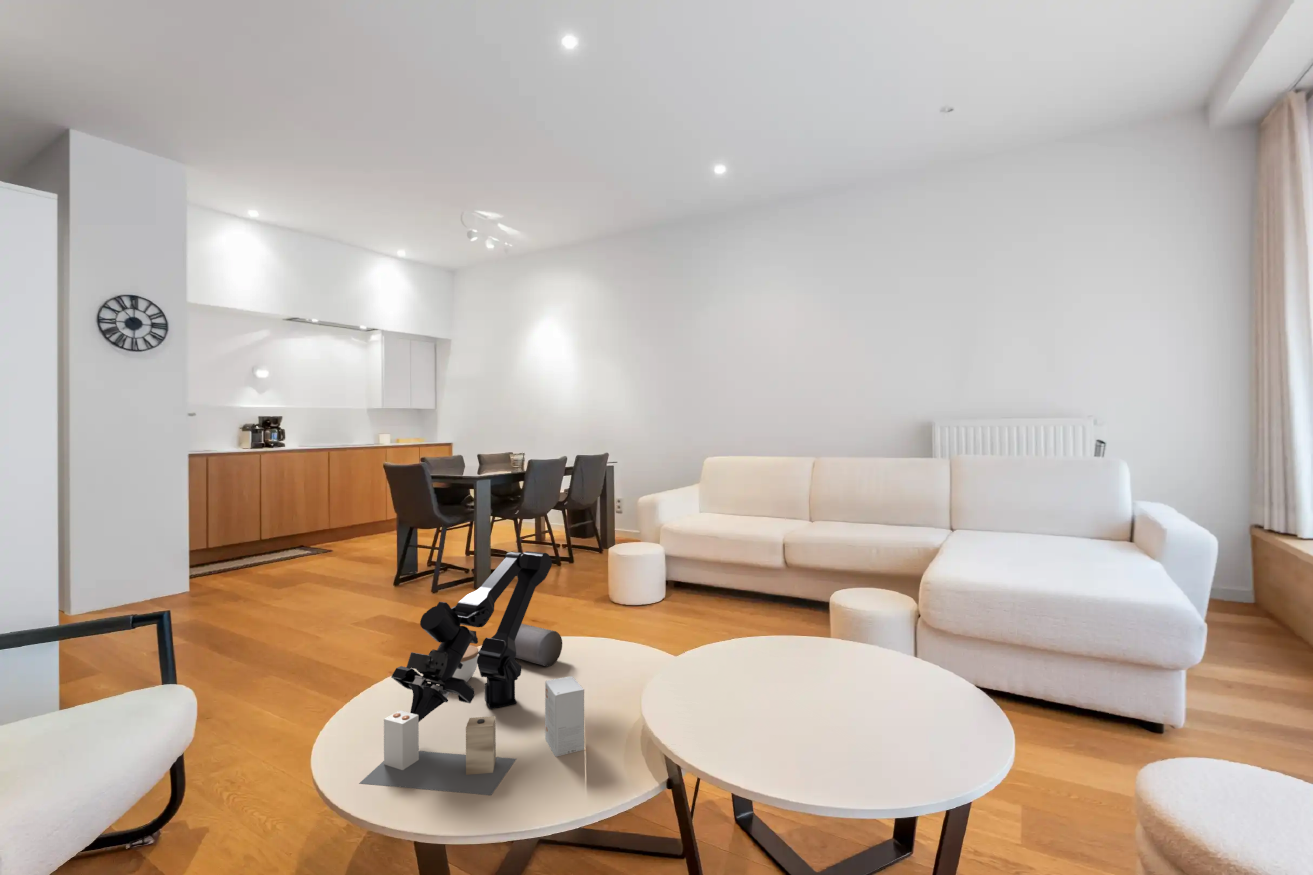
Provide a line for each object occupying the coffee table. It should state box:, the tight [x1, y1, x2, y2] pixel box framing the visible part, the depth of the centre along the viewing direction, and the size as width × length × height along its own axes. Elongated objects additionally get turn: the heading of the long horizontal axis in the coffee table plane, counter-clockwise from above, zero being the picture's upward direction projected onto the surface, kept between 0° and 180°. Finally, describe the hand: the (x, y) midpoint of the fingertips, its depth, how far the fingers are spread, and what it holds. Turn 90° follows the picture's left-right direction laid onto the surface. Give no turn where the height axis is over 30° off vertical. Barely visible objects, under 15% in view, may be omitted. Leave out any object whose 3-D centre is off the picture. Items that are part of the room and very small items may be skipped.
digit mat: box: [358, 750, 517, 796], centre depth 114 cm, size 26×12×1 cm, turn 82°
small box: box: [544, 675, 585, 757], centre depth 123 cm, size 8×6×13 cm
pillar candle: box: [515, 622, 563, 667], centre depth 170 cm, size 10×10×15 cm
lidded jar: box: [453, 644, 479, 683], centre depth 157 cm, size 11×11×9 cm
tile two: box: [383, 709, 420, 770], centre depth 117 cm, size 4×5×9 cm
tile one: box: [465, 715, 497, 775], centre depth 114 cm, size 4×5×9 cm
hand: (410, 725), depth 119 cm, fingers closed
